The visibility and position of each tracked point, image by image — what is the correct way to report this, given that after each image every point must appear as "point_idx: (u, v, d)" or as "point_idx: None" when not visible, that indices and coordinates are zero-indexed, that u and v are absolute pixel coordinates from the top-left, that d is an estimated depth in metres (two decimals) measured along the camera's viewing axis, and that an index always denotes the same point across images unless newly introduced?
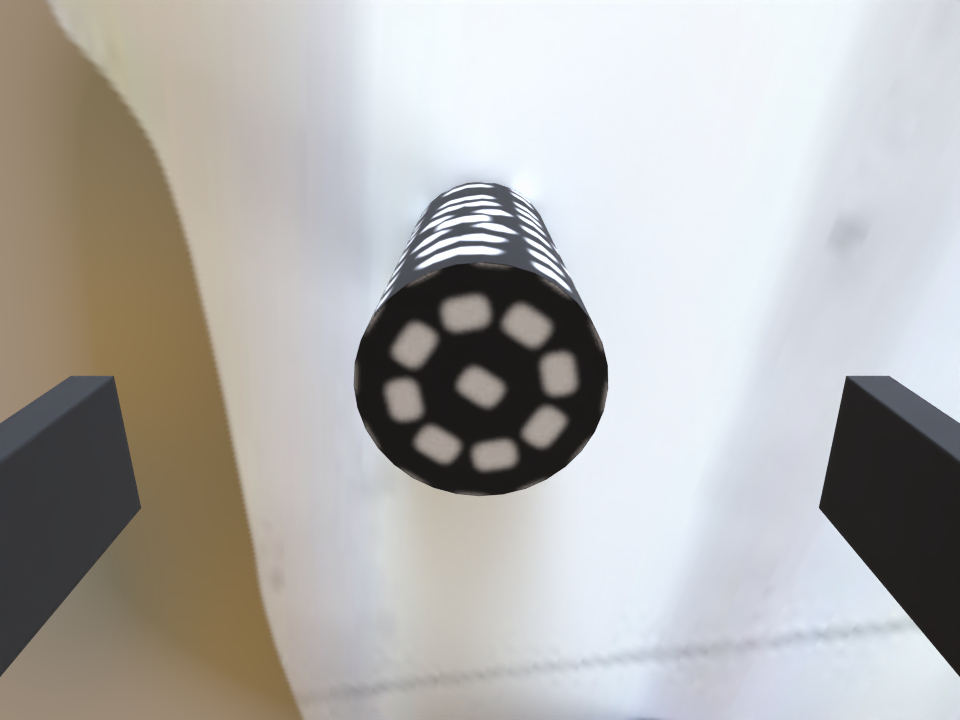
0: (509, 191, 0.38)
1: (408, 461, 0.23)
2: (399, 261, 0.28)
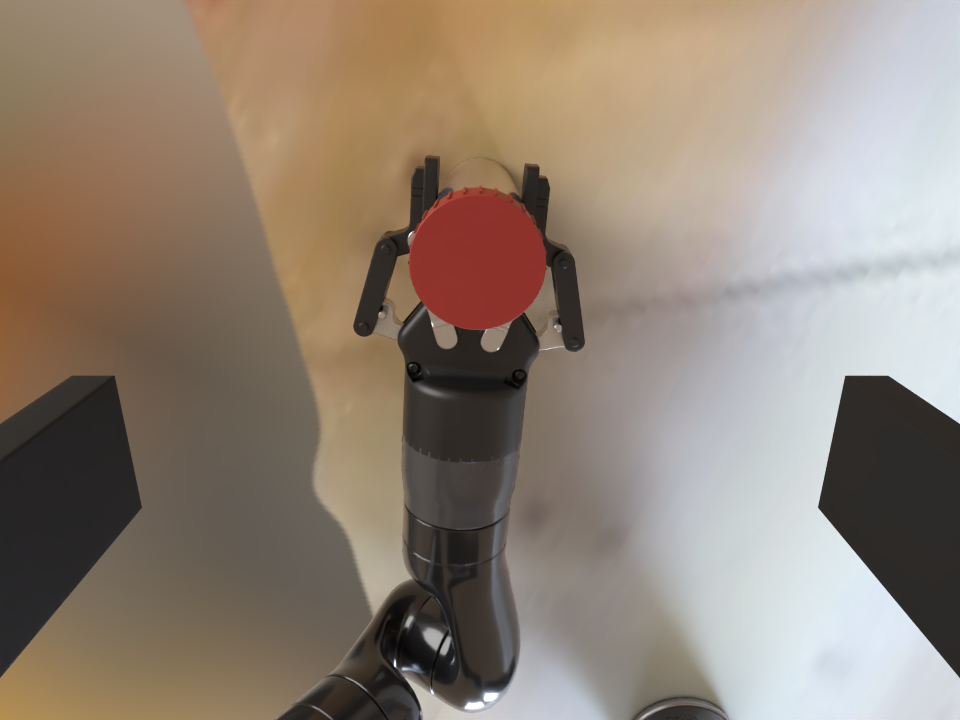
0: None
1: None
2: None
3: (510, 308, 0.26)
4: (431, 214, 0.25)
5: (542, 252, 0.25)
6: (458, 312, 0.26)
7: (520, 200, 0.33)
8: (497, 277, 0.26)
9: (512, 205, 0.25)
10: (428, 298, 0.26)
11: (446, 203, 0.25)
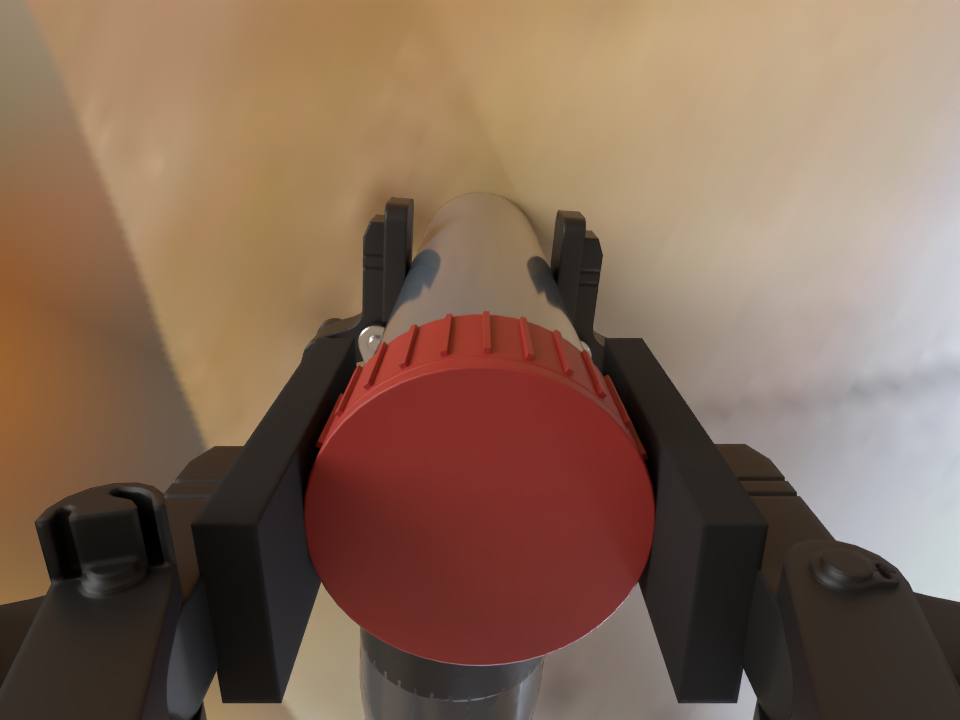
0: None
1: None
2: None
3: (561, 623, 0.10)
4: (355, 414, 0.09)
5: (648, 502, 0.10)
6: (432, 631, 0.11)
7: (559, 294, 0.17)
8: (529, 556, 0.10)
9: (574, 391, 0.09)
10: (357, 602, 0.10)
11: (395, 386, 0.09)
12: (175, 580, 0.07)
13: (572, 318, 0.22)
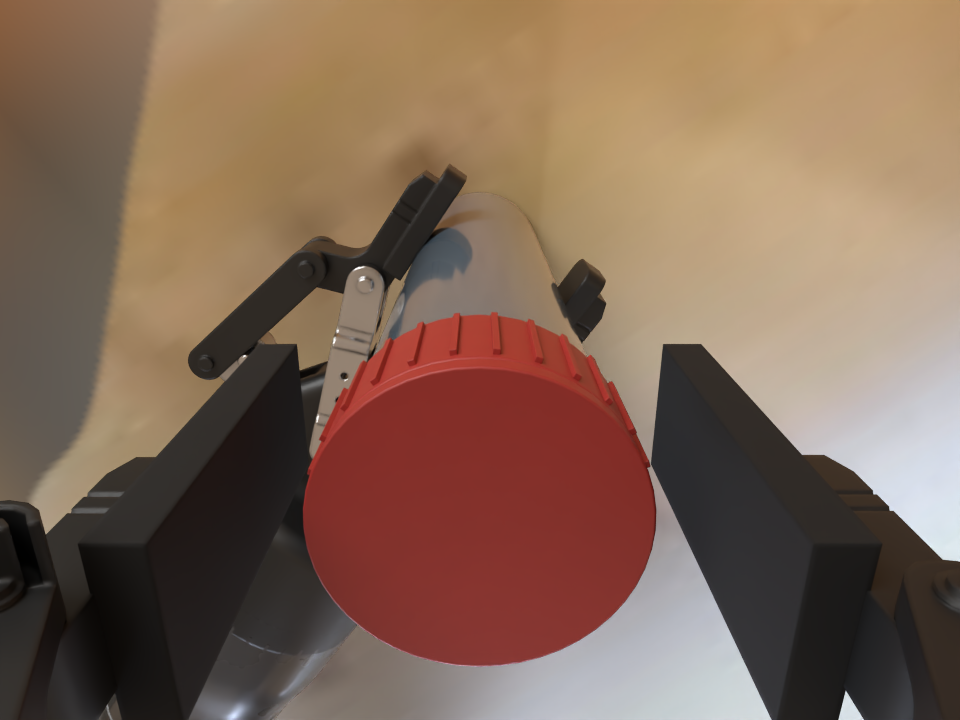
0: None
1: None
2: None
3: (624, 537, 0.10)
4: (307, 537, 0.10)
5: (566, 394, 0.09)
6: (542, 626, 0.11)
7: None
8: (537, 514, 0.10)
9: (413, 379, 0.09)
10: (467, 652, 0.11)
11: (307, 496, 0.10)
12: (55, 599, 0.07)
13: None
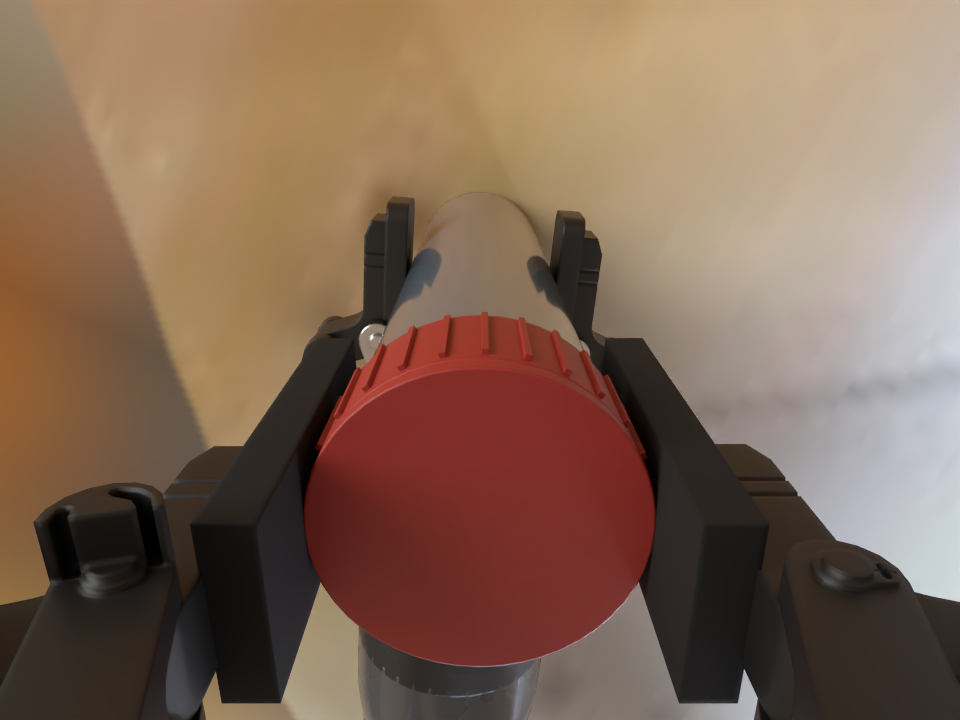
0: None
1: None
2: None
3: (612, 473, 0.10)
4: (340, 607, 0.10)
5: (473, 375, 0.09)
6: (592, 588, 0.10)
7: (559, 293, 0.17)
8: (520, 492, 0.10)
9: (337, 431, 0.09)
10: (542, 642, 0.11)
11: (318, 572, 0.10)
12: (174, 580, 0.07)
13: (571, 317, 0.22)
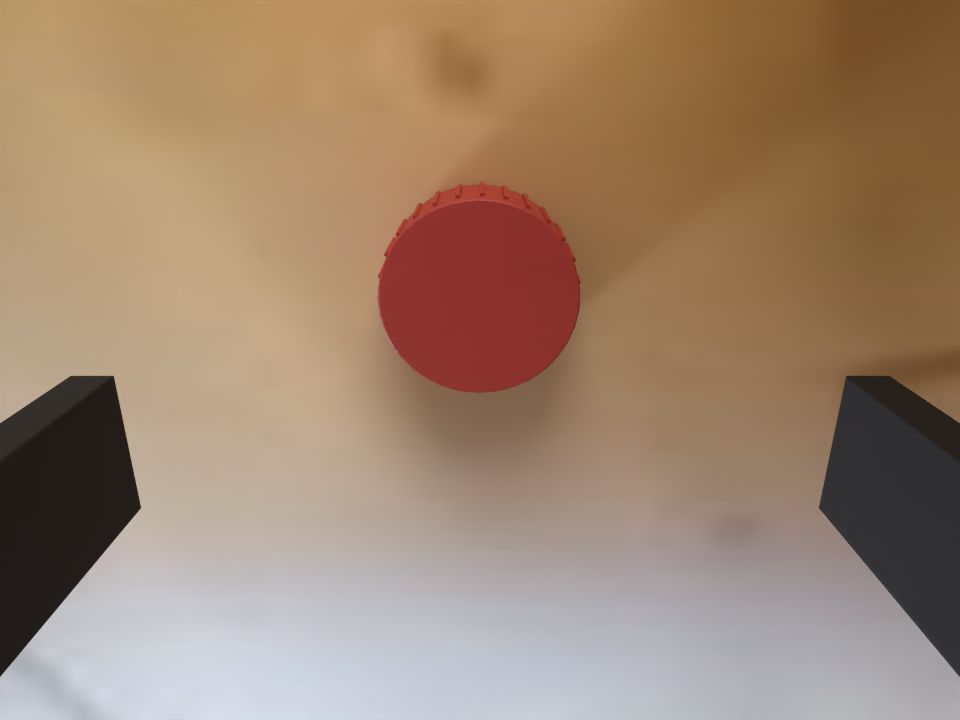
0: None
1: None
2: None
3: (554, 264, 0.17)
4: (398, 351, 0.18)
5: (475, 203, 0.16)
6: (544, 339, 0.18)
7: None
8: (502, 276, 0.17)
9: (399, 238, 0.17)
10: (516, 375, 0.18)
11: (385, 329, 0.18)
12: None
13: None
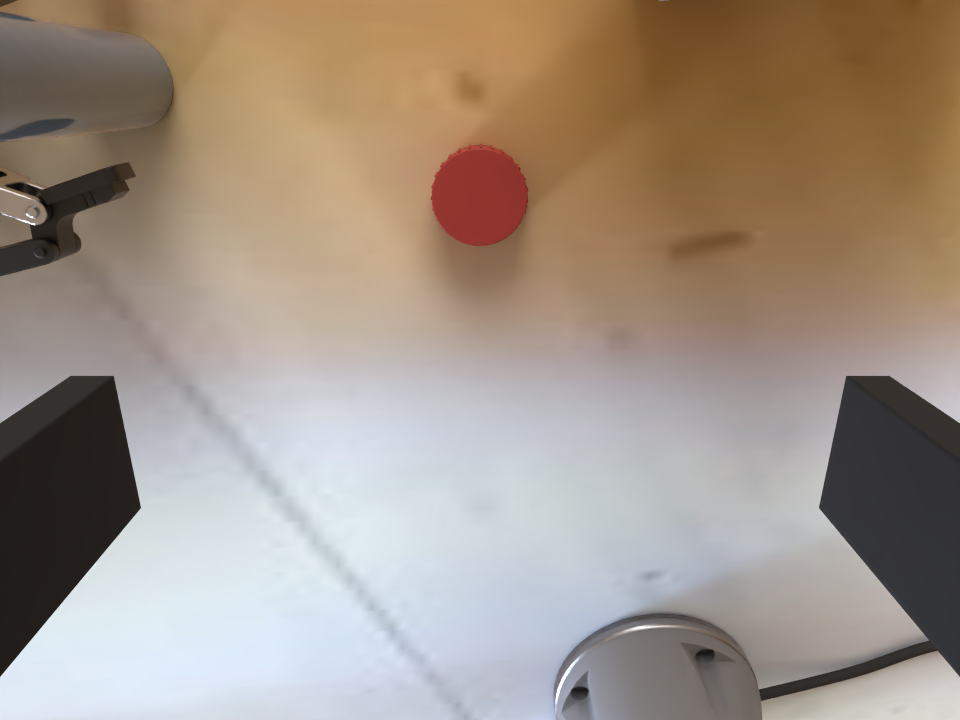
0: None
1: None
2: None
3: (514, 179, 0.36)
4: (440, 223, 0.37)
5: (477, 150, 0.36)
6: (511, 217, 0.37)
7: (43, 116, 0.26)
8: (490, 185, 0.36)
9: (442, 167, 0.36)
10: (497, 236, 0.37)
11: (435, 212, 0.37)
12: None
13: (56, 199, 0.32)
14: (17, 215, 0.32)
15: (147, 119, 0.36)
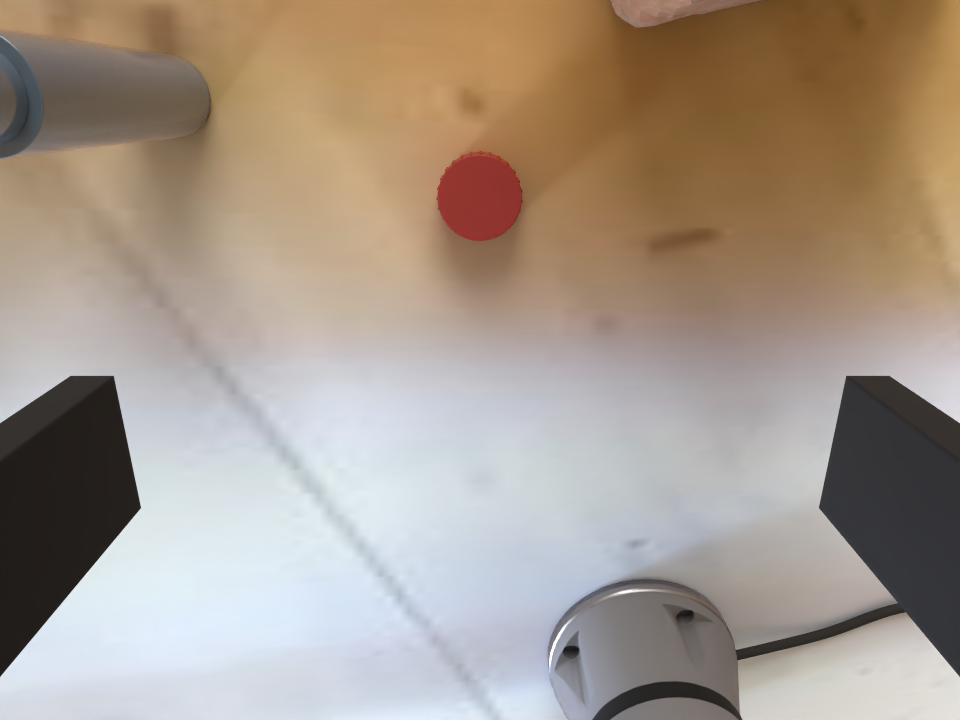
0: None
1: None
2: None
3: (510, 182, 0.41)
4: (445, 221, 0.42)
5: (478, 156, 0.41)
6: (507, 215, 0.42)
7: (112, 127, 0.32)
8: (489, 187, 0.41)
9: (447, 171, 0.41)
10: (495, 232, 0.42)
11: (440, 211, 0.42)
12: None
13: None
14: None
15: (188, 129, 0.41)
